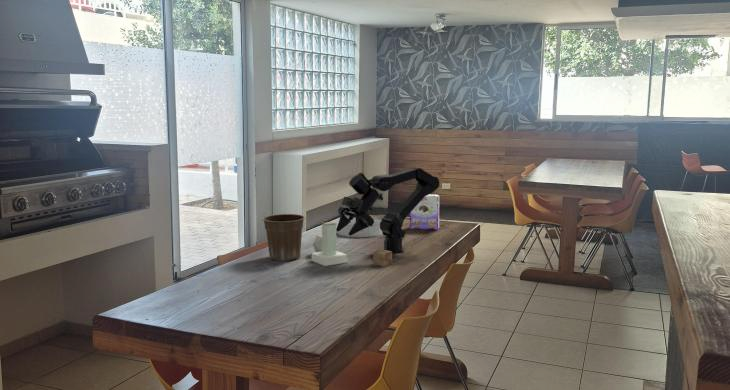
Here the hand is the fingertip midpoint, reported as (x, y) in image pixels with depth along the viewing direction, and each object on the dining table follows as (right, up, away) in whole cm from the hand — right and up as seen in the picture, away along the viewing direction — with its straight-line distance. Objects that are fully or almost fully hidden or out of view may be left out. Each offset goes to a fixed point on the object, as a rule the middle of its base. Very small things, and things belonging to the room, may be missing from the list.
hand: (343, 232), depth 252 cm
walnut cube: (+15, -12, -6) cm, 20 cm away
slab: (-5, -11, -2) cm, 12 cm away
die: (-8, -9, +10) cm, 16 cm away
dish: (+6, -3, +53) cm, 54 cm away
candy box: (+37, -2, +62) cm, 73 cm away
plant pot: (-23, -10, +4) cm, 26 cm away
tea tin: (-5, -8, -2) cm, 10 cm away
